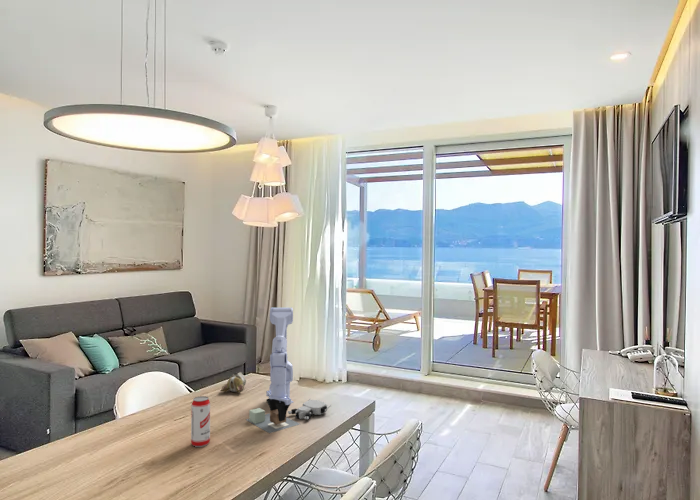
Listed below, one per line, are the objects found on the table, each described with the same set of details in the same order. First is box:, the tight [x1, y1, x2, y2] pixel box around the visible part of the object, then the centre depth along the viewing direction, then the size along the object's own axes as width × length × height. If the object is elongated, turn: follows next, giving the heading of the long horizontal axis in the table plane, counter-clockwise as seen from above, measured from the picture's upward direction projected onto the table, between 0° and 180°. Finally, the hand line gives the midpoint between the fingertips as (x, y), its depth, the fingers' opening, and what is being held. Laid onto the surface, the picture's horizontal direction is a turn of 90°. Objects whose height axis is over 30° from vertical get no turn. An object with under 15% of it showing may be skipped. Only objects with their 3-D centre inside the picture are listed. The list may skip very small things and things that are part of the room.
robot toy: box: [287, 398, 332, 420], centre depth 193 cm, size 12×4×15 cm
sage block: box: [248, 407, 266, 424], centre depth 185 cm, size 4×4×4 cm
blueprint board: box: [245, 412, 301, 434], centre depth 184 cm, size 18×14×1 cm
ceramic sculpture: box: [220, 371, 247, 393], centre depth 225 cm, size 11×9×15 cm
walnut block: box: [269, 409, 287, 425], centre depth 181 cm, size 4×4×4 cm
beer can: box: [190, 395, 211, 448], centre depth 163 cm, size 6×6×16 cm
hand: (278, 418), depth 181 cm, fingers closed on walnut block, 4 cm apart
